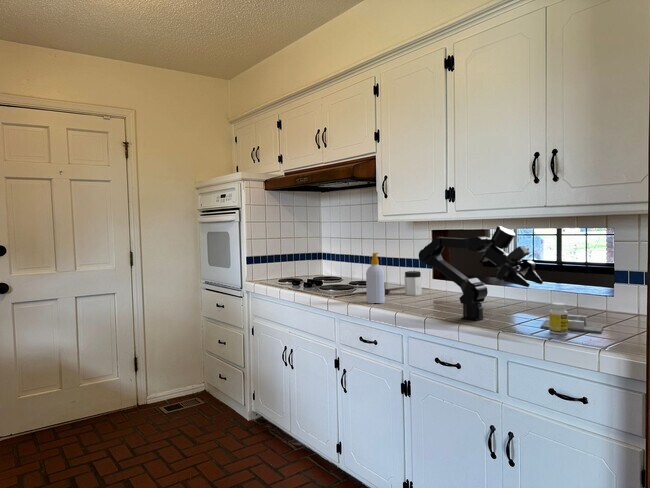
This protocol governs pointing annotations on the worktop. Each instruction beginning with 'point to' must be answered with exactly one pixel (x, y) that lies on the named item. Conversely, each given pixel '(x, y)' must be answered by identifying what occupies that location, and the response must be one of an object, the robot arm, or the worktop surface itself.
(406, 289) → the jar
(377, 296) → the soap bottle
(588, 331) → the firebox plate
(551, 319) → the supplement bottle
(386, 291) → the cup and saucer
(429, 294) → the worktop surface
